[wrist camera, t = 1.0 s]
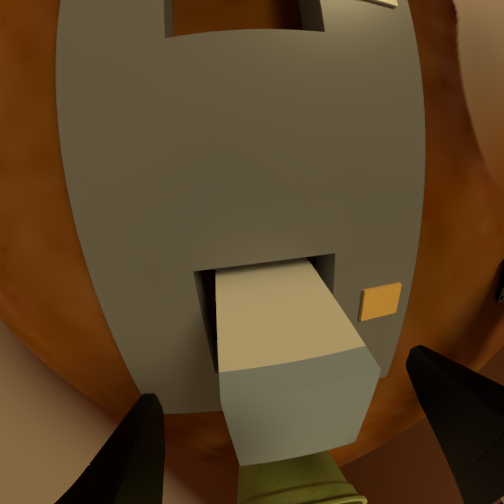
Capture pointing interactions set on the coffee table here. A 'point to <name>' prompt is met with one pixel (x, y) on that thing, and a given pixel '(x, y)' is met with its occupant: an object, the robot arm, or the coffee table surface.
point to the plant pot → (296, 482)
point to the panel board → (239, 170)
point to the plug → (288, 362)
